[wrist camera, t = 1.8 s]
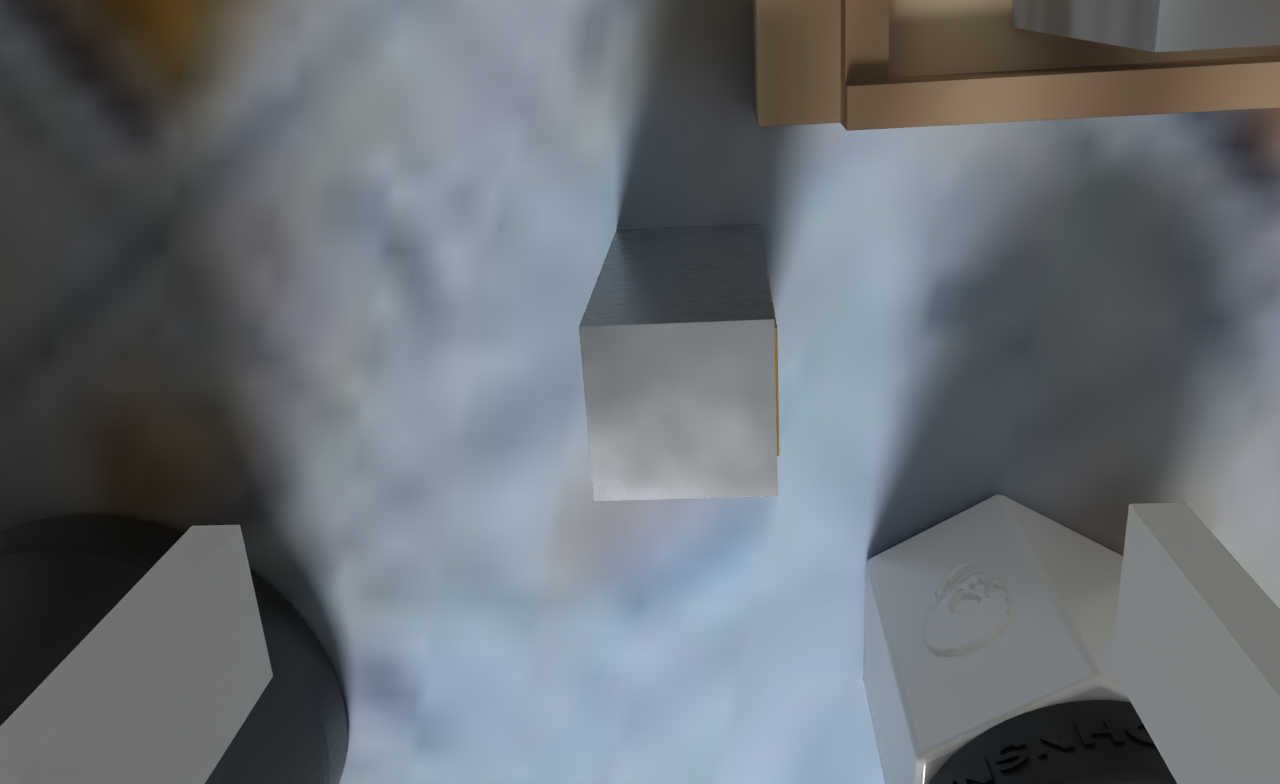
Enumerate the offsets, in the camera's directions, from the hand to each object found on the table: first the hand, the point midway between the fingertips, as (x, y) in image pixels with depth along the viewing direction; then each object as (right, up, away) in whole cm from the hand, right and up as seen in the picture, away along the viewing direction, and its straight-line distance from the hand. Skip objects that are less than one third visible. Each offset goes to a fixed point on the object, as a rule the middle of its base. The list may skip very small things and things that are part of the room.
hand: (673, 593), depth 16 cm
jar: (+11, -4, +18) cm, 22 cm away
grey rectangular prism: (+1, +6, +15) cm, 16 cm away
